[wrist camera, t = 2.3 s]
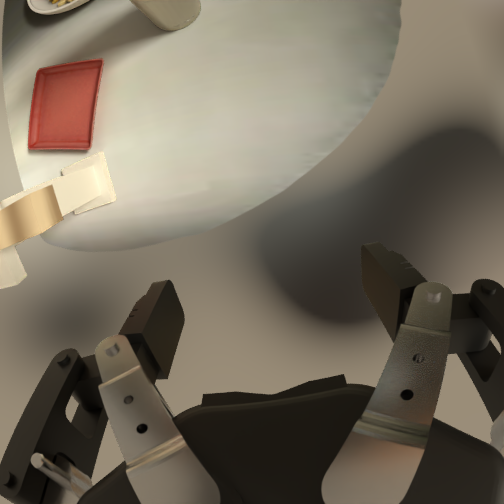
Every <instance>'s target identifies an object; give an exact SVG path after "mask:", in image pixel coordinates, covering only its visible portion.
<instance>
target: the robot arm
mask: <svg viewBox="0 0 504 504" xmlns="http://www.w3.org/2000/svg"><path fill="white" fill-rule="evenodd" d="M130 1H131V2H132V3H133V4H134V5H135V6H136V7H137V8H138V9H139V10H140V11H141V12H143V13H144V14H145V15H146V16H147V17H148V18H149V19H150V20H151V21H152V22H153V23H154V24H155V25H156V26H157V27H159V28H160V29H163V30H167V31H174V30H179V29H182V28H184V27H186V26H188V25H190V24H191V23H192V22H193V21H194V20H195V19H196V18H197V17H198V15H199V13H200V10H201V4H200V1H199V0H130ZM361 277H362V278H361V279H362V286H363V289H364V292H365V294H366V295H367V297H368V299H369V300H370V302H371V304H372V306H373V307H374V309H375V311H376V312H377V314H378V316H379V317H380V319H381V321H382V323H383V325H384V326H385V328H386V330H387V332H388V334H389V335H390V337H391V339H392V341H393V343H394V345H393V348H392V351H391V353H390V356H389V358H388V360H387V363H386V366H385V368H384V370H383V373H382V375H381V377H380V379H379V382H378V384H377V386H376V388H375V387H371V386H367V385H362V384H347V383H346V380H345V376H344V374H341V375H338V376H333V377H328V378H324V379H319V380H313V381H308V382H306V383H303V384H301V385H298V386H296V387H293V388H290V389H288V390H285V391H282V392H279V393H277V394H272V395H267V394H255V393H244V392H227V393H214V394H203V398H202V404H201V405H198V406H195V407H192V408H190V409H187V410H185V411H184V412H182V413H180V414H178V415H177V416H175V415H174V414H173V412H172V411H171V409H170V408H169V406H168V404H167V403H166V401H165V400H164V398H163V397H162V395H161V394H160V392H159V390H158V388H157V387H156V385H155V382H156V379H168V376H169V372H170V369H171V366H172V362H173V359H174V355H175V352H176V349H177V345H178V342H179V339H180V336H181V332H182V329H183V326H184V321H185V318H184V312H183V309H182V306H181V303H180V301H179V298H178V296H177V293H176V291H175V288H174V285H173V283H172V282H171V281H170V280H165V281H160V282H154V283H152V285H151V287H150V288H149V290H148V292H147V294H146V295H144V296H143V297H142V298H141V299H140V300H139V301H137V302H136V304H135V306H134V307H133V309H132V311H131V313H130V314H129V317H128V318H127V320H126V322H125V323H124V325H123V327H122V329H121V330H120V332H119V334H118V335H114V336H111V337H108V338H106V339H105V340H103V341H102V342H101V343H100V344H99V345H98V346H97V348H96V350H95V354H94V355H90V356H87V357H83V358H81V356H80V355H79V353H78V352H77V350H75V349H72V348H70V349H66V350H63V351H61V352H60V353H58V354H57V355H56V356H55V357H54V358H53V360H52V361H51V363H50V365H49V366H48V368H47V370H46V371H45V373H44V375H43V376H42V378H41V380H40V382H39V384H38V385H37V387H36V389H35V391H34V393H33V395H32V397H31V398H30V401H29V402H28V404H27V406H26V408H25V410H24V412H23V414H22V416H21V418H20V420H19V422H18V424H17V426H16V428H15V431H14V433H13V435H12V437H11V440H10V442H9V444H8V446H7V449H6V451H5V454H4V456H3V458H2V461H1V464H0V495H1V496H3V497H4V498H6V499H7V500H9V501H11V502H12V503H14V504H504V288H503V287H502V286H501V285H500V284H499V283H497V282H495V281H493V280H490V279H479V280H476V281H475V282H474V283H473V284H472V287H471V291H470V293H465V294H452V291H451V290H450V289H449V287H447V286H446V285H444V284H441V283H438V282H428V281H427V280H426V279H425V278H424V277H423V276H422V275H421V274H420V273H419V272H418V271H417V270H416V269H415V268H413V266H412V265H411V264H410V263H408V261H407V260H406V259H405V258H404V257H403V256H402V255H401V254H398V253H396V252H394V251H388V250H387V249H386V248H385V247H384V246H383V245H382V244H381V243H380V242H375V243H369V244H364V245H362V246H361ZM492 334H493V335H494V336H495V338H496V339H497V340H498V342H499V344H500V346H501V355H500V353H499V352H498V351H497V349H496V347H495V346H494V345H493V343H492V342H491V340H490V338H491V336H492ZM455 353H457V355H458V357H459V358H460V360H461V362H462V363H463V365H464V367H465V369H466V370H467V372H468V374H469V375H470V378H471V379H472V381H473V383H474V385H475V387H476V388H477V390H478V392H479V394H480V396H481V398H482V400H483V402H484V404H485V406H486V408H487V410H488V412H489V415H490V417H491V419H492V421H493V425H492V427H491V433H490V434H491V443H490V444H488V443H486V442H484V441H481V440H479V439H477V438H475V437H473V436H471V435H468V434H466V433H464V432H462V431H460V430H458V429H456V428H454V427H452V426H450V425H448V424H446V423H444V422H442V421H440V420H438V419H436V418H434V417H433V416H434V413H435V410H436V406H437V402H438V398H439V394H440V390H441V386H442V382H443V377H444V372H445V367H446V362H447V356H448V354H455ZM71 395H72V396H73V397H74V399H75V400H76V401H77V402H78V403H79V405H78V407H77V410H76V412H75V415H74V417H73V420H72V422H71V423H70V422H69V420H68V419H67V418H66V414H65V410H66V406H67V404H68V402H69V399H70V397H71ZM108 419H109V421H110V424H111V427H112V429H113V432H114V435H115V437H116V440H117V442H118V444H119V447H120V450H121V452H122V454H123V457H124V459H125V461H124V462H122V463H121V464H120V465H119V466H118V467H116V468H115V469H114V470H113V471H112V472H110V473H109V474H108V475H106V476H105V477H104V478H103V479H102V480H100V481H99V482H98V483H96V484H95V485H94V486H93V485H92V481H91V477H92V474H93V470H94V466H95V463H96V459H97V455H98V452H99V448H100V445H101V441H102V438H103V434H104V431H105V428H106V425H107V422H108Z"/></svg>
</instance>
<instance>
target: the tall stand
mask: <svg viewBox="0 0 504 504" xmlns="http://www.w3.org/2000/svg"><path fill="white" fill-rule="evenodd" d="M61 170H62V174H63V176H61V177H58V178H55V179H53V180H50V181H47V182H45V183H42V184H40V185H37V186H35V187H32V188H30V189H27V190H25V191H22V192H20V193H18V194H16V195H13V196H11V197H9V198H7V199H5V200H2V201H0V210H2V209H4V208H5V207H7V206H9V205H10V204H12V203H14V202H16V201H17V200H19V199H21V198H23V197H24V196H26V195H28V194H30V193H33V192H35V191H37V190H40V189H42V188H44V187H47V186H49V185H53V188H54V192H55V195H56V198H57V201H58V205H59V208H60V211H61V214H62V217H63V216H64V215H66V214H68V213H69V212H71V211H73V210H74V213H75V215H76V214H79V213H82V212H84V211H87V210H90V209H93V208H96V207H99V206H102V205H105V204H108V203H111V202H113V201H115V200H117V198H116V195H115V191H114V188H113V185H112V181H111V178H110V174H109V171H108V167H107V163H106V160H105V156H104V152H99V153H96V154H94V155H92V156H89V157H87V158H85V159H83V160H80V161H78V162H76V163H74V164H72V165H70V166H68V167H65V168H63V169H61ZM23 241H24V240H23ZM23 241H21V242H23ZM21 242H18V243H16V244H13V245H11V246H9V247H6V248H4V249H2V250H0V289H2V288H6V287H11V286H14V285H18V284H19V283H20V282H21V281H22V280H23V279H24V278H26V277H27V274H26V272H25V269H24V267H23V265H22V263H21V260H20V258H19V256H18V253H17V251H16V248H15V246H17V245H18V244H20V243H21Z"/></svg>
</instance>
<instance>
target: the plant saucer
mask: <svg viewBox="0 0 504 504" xmlns="http://www.w3.org/2000/svg"><path fill="white" fill-rule="evenodd" d="M103 65H104V60H103V59H102V58H98V59H90V60H83V61H76V62H70V63H65V64H60V65H54V66H49V67H44V68H40V69H39V70H38V71H37V73H36V78H35V84H34V90H33V96H32V104H31V112H30V121H29V134H28V148H29V150H42V149H75V150H89V149H91V147H92V140H93V129H94V120H95V112H96V105H97V98H98V92H99V86H100V81H101V75H102V70H103Z"/></svg>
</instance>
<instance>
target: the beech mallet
mask: <svg viewBox="0 0 504 504" xmlns="http://www.w3.org/2000/svg"><path fill="white" fill-rule="evenodd" d="M62 220H63V217H62V214H61V211H60V208H59V205H58V201H57V198H56V195H55V192H54V188H53V185H49V186H47V187H44V188H42V189H40V190H37V191H35V192H33V193H30V194H28V195H26V196H24V197H23V198H21V199H19V200H17V201H16V202H14V203H12V204H10V205H9V206H7V207H5V208H4V209H2V210H0V250H2V249H4V248H6V247H9V246H11V245H13V244H16V243H18V242H21V241H23V240H26V239H28V238H30V237H33V236H35V235H38V234H41V233H43V232H44V231H46V230H47V229H49V228H50V227H52V226H54V225H55V224H57V223H58V222H60V221H62Z"/></svg>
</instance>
